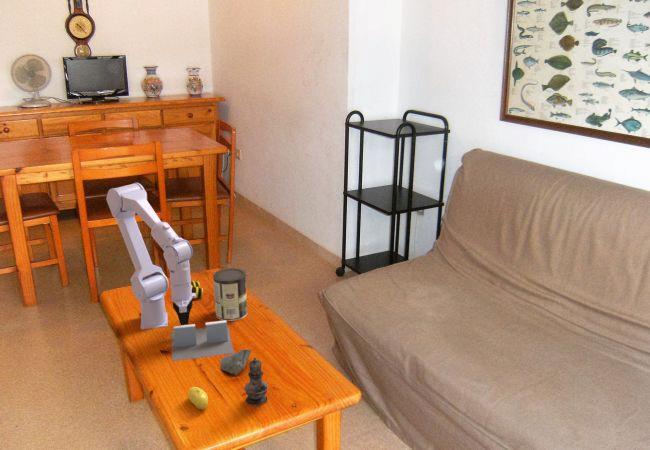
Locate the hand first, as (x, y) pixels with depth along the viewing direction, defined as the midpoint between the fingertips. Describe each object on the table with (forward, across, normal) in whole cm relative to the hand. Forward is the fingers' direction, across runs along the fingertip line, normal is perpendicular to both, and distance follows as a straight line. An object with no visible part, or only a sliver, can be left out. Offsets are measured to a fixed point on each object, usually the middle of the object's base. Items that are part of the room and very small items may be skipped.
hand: (184, 323), depth 178 cm
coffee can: (+4, +11, -15) cm, 19 cm away
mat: (+4, -5, -4) cm, 8 cm away
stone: (+5, -20, -12) cm, 24 cm away
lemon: (+5, -35, -2) cm, 35 cm away
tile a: (+4, -6, 0) cm, 7 cm away
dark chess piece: (+5, -37, -16) cm, 40 cm away
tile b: (+4, -6, -9) cm, 11 cm away
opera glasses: (+4, +29, -4) cm, 30 cm away
